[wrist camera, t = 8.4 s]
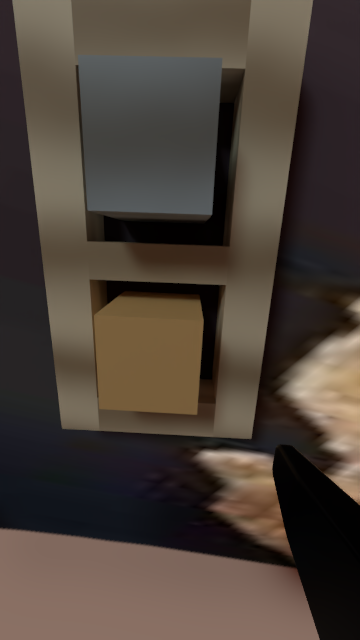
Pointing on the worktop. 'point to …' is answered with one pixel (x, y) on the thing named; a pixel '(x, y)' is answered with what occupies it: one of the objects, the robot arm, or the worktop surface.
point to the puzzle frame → (160, 176)
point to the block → (149, 352)
